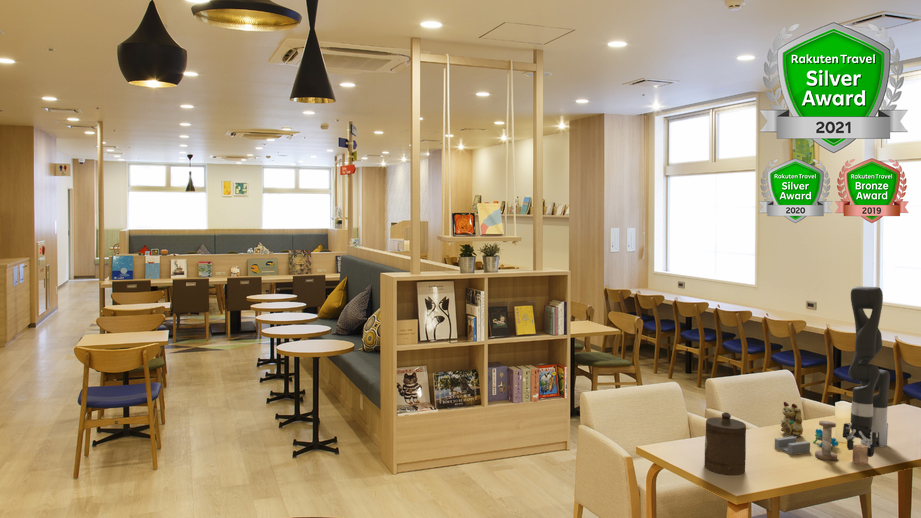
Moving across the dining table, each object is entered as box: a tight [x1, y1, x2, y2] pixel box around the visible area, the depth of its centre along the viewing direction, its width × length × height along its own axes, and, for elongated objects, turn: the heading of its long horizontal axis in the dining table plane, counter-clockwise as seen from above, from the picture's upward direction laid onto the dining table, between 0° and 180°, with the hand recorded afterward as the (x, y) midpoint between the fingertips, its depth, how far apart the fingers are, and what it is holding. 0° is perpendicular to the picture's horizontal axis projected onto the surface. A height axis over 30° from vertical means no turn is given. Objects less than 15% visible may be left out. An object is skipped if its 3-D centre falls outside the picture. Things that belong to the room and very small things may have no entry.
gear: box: [813, 428, 840, 448], centre depth 282 cm, size 11×6×10 cm
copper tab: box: [851, 443, 869, 466], centre depth 262 cm, size 5×3×7 cm, turn 110°
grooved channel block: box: [774, 436, 811, 456], centre depth 276 cm, size 10×9×4 cm
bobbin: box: [814, 420, 838, 462], centre depth 267 cm, size 8×8×14 cm
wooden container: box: [704, 411, 747, 476], centre depth 254 cm, size 15×15×22 cm
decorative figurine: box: [780, 401, 804, 438], centre depth 296 cm, size 10×8×15 cm
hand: (859, 453), depth 261 cm, fingers open, 8 cm apart
